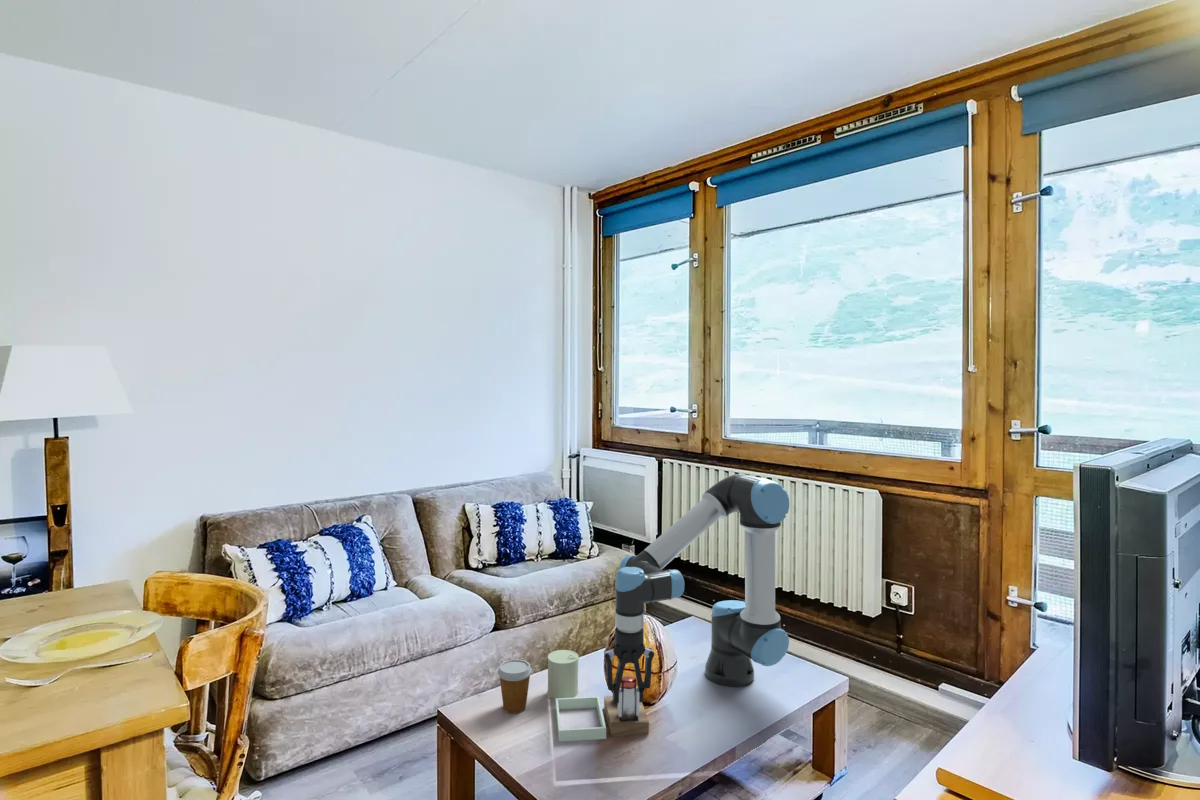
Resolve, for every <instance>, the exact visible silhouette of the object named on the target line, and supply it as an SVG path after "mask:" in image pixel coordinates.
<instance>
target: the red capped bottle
mask: <svg viewBox="0 0 1200 800" xmlns="http://www.w3.org/2000/svg"><path fill="white" fill-rule="evenodd" d="M636 687H637V679H636V677H634V676H629V675H628V676H627V675H626V676H622V680H621V685H620V688H621V691H622V717H621V722H625V721H636Z"/></svg>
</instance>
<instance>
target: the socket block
mask: <svg viewBox="0 0 1200 800" xmlns="http://www.w3.org/2000/svg"><path fill="white" fill-rule="evenodd" d="M617 706H618V703H615V702H614V691H613V692H612V695H611V696H609V695H606V696H604V697H603V710H604V713H605V717H606V720H607V721H606V722H607V725H608V730H609V733H610V734H609V735H610V737H618V736H619V737H620V736H622V737H623V736H636V735H649V734H650V729H649V728H650V721H649V718H648V716H647V713H646V709H645V707H644V704H643V702H639V716H636V721H625V722H621V717H619V715H618V712H617Z"/></svg>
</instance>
